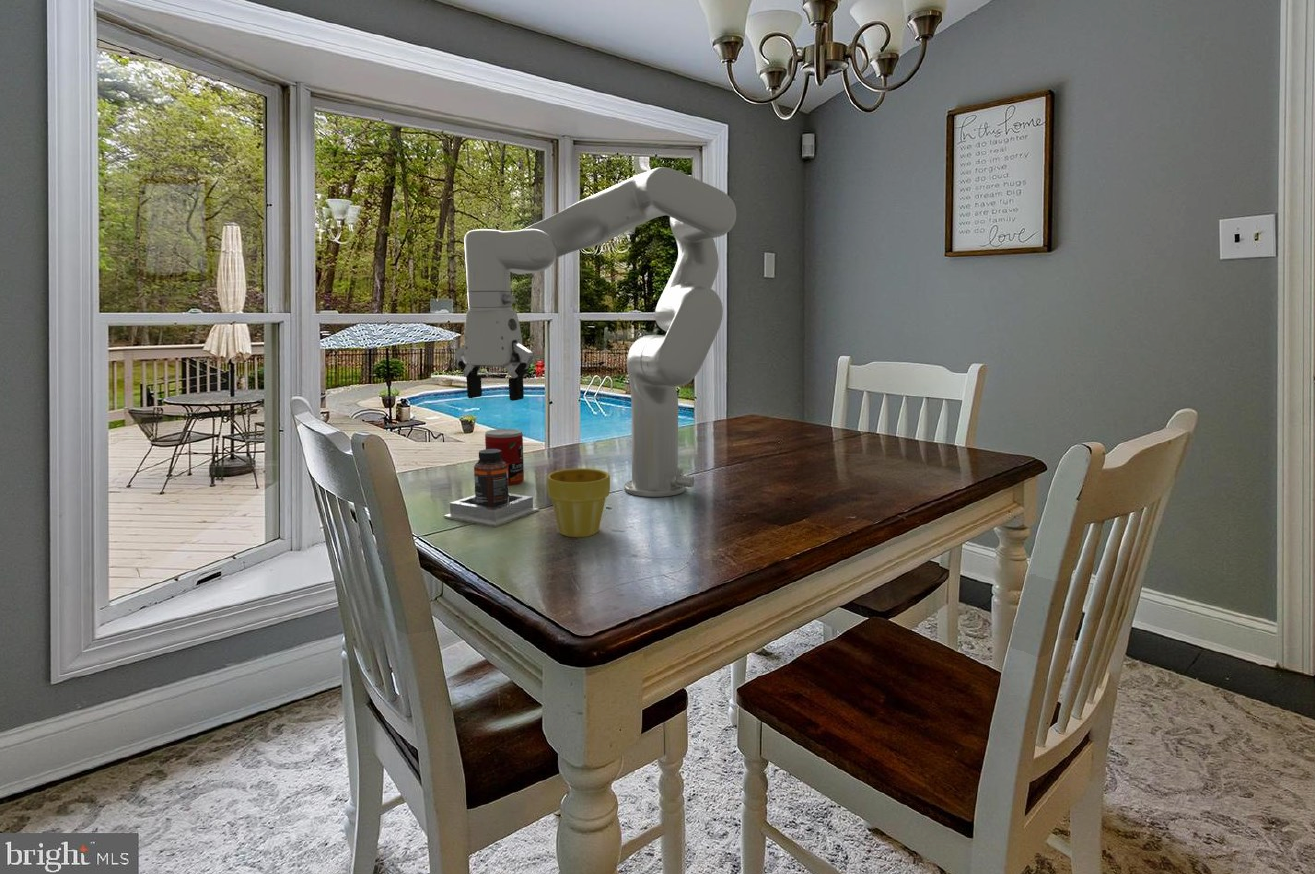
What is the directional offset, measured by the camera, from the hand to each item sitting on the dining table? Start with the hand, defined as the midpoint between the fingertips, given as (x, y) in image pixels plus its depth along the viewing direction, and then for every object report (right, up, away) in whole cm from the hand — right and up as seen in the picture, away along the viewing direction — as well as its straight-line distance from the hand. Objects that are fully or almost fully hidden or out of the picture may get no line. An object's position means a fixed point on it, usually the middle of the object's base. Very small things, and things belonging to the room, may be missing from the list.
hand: (495, 398), depth 133 cm
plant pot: (+16, -23, -10) cm, 30 cm away
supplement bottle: (-1, -21, +1) cm, 21 cm away
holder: (-1, -21, +1) cm, 21 cm away
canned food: (-4, -17, +26) cm, 31 cm away
